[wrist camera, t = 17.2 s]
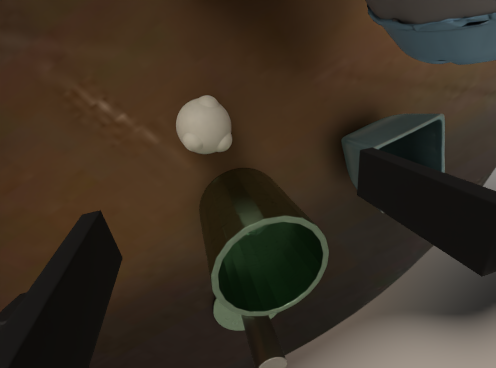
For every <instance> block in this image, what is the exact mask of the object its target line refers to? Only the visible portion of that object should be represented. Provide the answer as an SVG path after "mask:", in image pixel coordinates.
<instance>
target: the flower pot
mask: <svg viewBox="0 0 496 368" xmlns="http://www.w3.org/2000/svg"><path fill="white" fill-rule="evenodd" d="M444 141H445V118H444V114H399V115H393V116H389V117H386V118H383V119H380V120H378V121H376V122H373V123H371V124H369V125H367V126H365V127H363V128H361V129H359V130H357V131H355V132H353V133H350V134H348V135H346V136H344V137H343V138H342V140H341V142H342V147H343V152H344V156H345V161H346V166H347V170H348V173H349V176H350V178H351V181H352V183H353V184H354V186H355V187H356V189H357V187H358V171H359V155H360V150H362V149H367V148H371V147H373V148H376V149H379V150H381V151H384V152H387V153H390V154H393V155H395V156H398V157H401V158H404V159H407V160H410V161H412V162H415V163H418V164H421V165H424V166H426V167H429V168H432V169H435V170H438V171H440V172H443V173H445V163H444V160H445V159H444V144H445V142H444ZM377 209H378V208H377ZM380 211H381V210H380ZM381 212H382V211H381ZM382 213H384V212H382Z"/></svg>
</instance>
